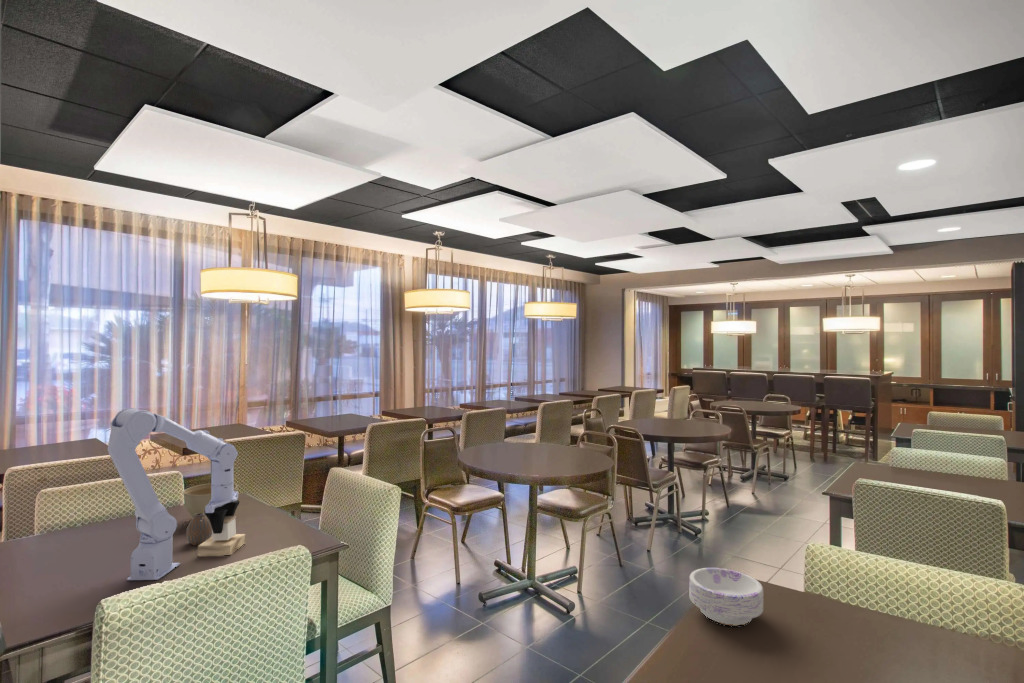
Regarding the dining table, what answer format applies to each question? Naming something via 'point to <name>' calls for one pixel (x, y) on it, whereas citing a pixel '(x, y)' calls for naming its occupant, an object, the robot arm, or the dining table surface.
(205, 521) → the vase
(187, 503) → the planter bowl
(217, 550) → the block
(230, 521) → the framed cream cube
